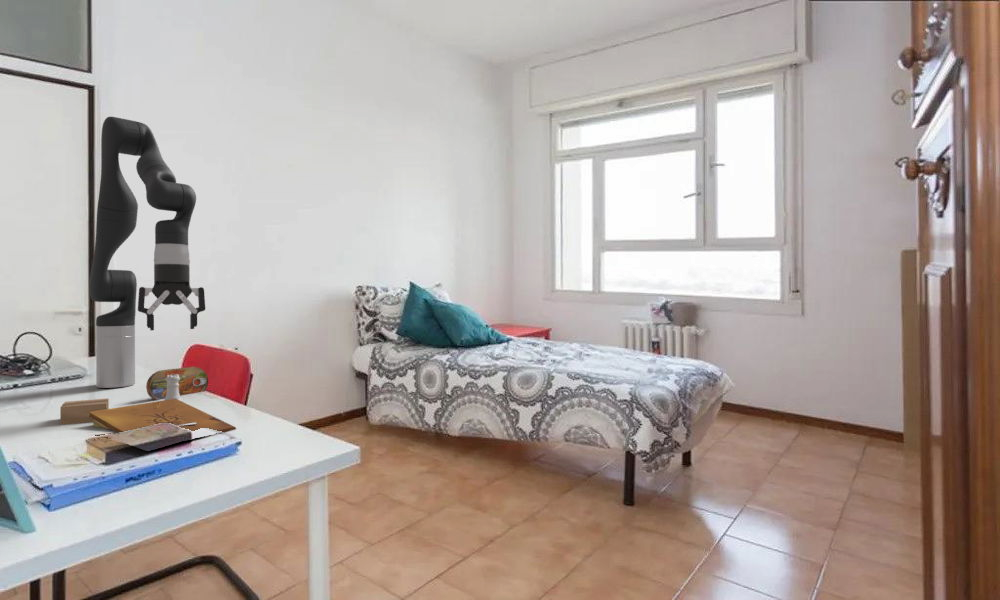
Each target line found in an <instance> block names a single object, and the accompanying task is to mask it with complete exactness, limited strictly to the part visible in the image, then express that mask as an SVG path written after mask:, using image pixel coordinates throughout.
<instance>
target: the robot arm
mask: <svg viewBox="0 0 1000 600" xmlns="http://www.w3.org/2000/svg"><path fill="white" fill-rule="evenodd" d="M101 126H102V128H101V140H100V142H101V144H100V151H101V153H100V155H101V159H100V160H101V161H100V162H101V163H100V181H99V182H100V183H99V191H98V200H97V208H96V222H95V223H96V225H95V226H96V227H95V244H94V252H93V259H92V264H91V270H90V275H89V285H88V293H89V297H90V298H91V300H92V301H93V302H96V303H97V302H98V303H119V306H118V307H117V308H115V309H113V310H112V311H110V312H106V313H103V314H101V315H98V316H96V319H95V336H96V337H95V338H96V339H95V341H96V342H95V347H96V348H95V353H96V355H95V356H96V357H95V358H96V359H95V360H96V361H95V374H96V378H95V379H96V381H95V383H96V384H95V386H96V388H99V389H101V388H103V389H104V388H105V389H108V388H109V389H110V388H121V387H123V388H124V387H130V386H135V385H134V384H136V309H137V311H138V312H139V313H142V314H145V315H146V327H147V329H150V330H149V331H154V330H155V315H154V312H155V310H157V309H158V307H159V306H161V304H162V305H164V306H169V305H174V306H175V305H176V306H178V305H179V306H180V305H182V304H183V305H184V306H185V307H186V308H187V310H188V311H189V312H190V313H189V318H190V319H189V321H190V323H189V325H190V326H189V327H190V328H189V329H190V330H194V329H195V328H196V327H197V326H198V314H199V313H201V312H204V311H206V299H205V297H206V296H205V288H204V287H202V286H200V287H195V288H193V287H191V283H190V277H191V276H190V274H191V273H190V272H191V271H190V263H191V262H190V261H191V259H190V250H189V227H190V225H191V224H190V223H191V219H192V216H193V212H194V209H195V206H196V202H197V195H196V192H195V190H194V188H193V187H192V186H191V185H188V184H185V183H178V182H177V178H176V176H175V174H174V172H173V171H172V170H171V169H170V167H169V166H168V164H166V163H167V162H165V161H164V158H163V156H162V153H161V152H160V148H159V146H158V143H157V141H156V137H155V135H154V133H153V132H152V129H151V128H150V127H149V126H148V125H147V124H145V123H144V122H142V121H136V120H130V119H126V118H120V117H116V116H108V117H106V118H105V120H104V121H103V123H102V125H101ZM119 154H123V155H128V156H129V155H130V156H135V157H138V156H139V158H138V160H137V162H136V167H135V168H136V172H137V173H136V174H138V177H139V178H140V179H141V181H142V183H143V184H144V185H145V186H144V187H145V191H146V194H145V195H146V202H147V204H148V205H149V206H150V207H152V208H153V209H156V210H160V211H168V212H175V216H174V218H172V219H164V220H159V221H157V222H156V223H155V226H154V235H155V239H154V240H155V241H154V243H155V245H154V254H153V256H154V257H153V272H154V273H153V274H154V275H153V280H154V283H153V284H154V285H153V287H144V286H140V287H139V289H137V288H138V287H137V286H138V285H137V284H138V282H137V276H136V274H135V273H134V272H133V271H132V270H126V269H109V265H110V262H111V260H112V258H113V256H114V255H115V253H116V252H117V250H118V249H119V248H120V247H121V246H122V245H123V244H124V243H125V242H126V241H127V239H129V237H131V235H132V234H133V232H134V231H135V229H136V226H137V220H138V211H139V210H138V208H139V204H138V201H137V199H136V196H135V195H134V192H133V191H132V190H131V189H132V188H130V186H129V184H128V183H127V181H126V180H125V178H124V176H123V175H124V174H123V173H122V171H121V167H120V161H119V160H120V158H119V157H120V156H119ZM137 290H138V297H137ZM150 293H152V294H153V295H154V297H155V298H156V300H155V301H154V302H153V303H152V304H151V305H150V307H149V308H146V307H145V300H146V299H145V297H148V296H149V295H150ZM192 293H193V294H194V297H197V300H198V307H195V306H194V305H193V303H191V301H190V300H189V299H188V298H189V296H190V295H191V294H192ZM137 298H138V301H137ZM136 303H137V304H136ZM136 305H137V308H136Z"/></svg>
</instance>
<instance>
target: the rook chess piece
mask: <svg viewBox="0 0 1000 600" xmlns="http://www.w3.org/2000/svg"><path fill="white" fill-rule="evenodd" d="M165 380H166V381H167V385H166V386H167V393H166V397H165V399H164V400H170V399H178V400H180V401H182V402H184V400H183V398H182V396H180V395H179V389H178V386H179V384H178V381H179V380H180V377H179V375H177V374H174V375H173V376H172V375H170V376H169V375H167V378H166V379H165Z"/></svg>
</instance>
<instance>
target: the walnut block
mask: <svg viewBox="0 0 1000 600" xmlns="http://www.w3.org/2000/svg"><path fill="white" fill-rule="evenodd" d="M109 405H110V399H109V397H108V398H107V397H106V398H97V399H96V398H95V399H82V400H73V401H72V400H70V401H64V402H63V403H62V405H60V409H59V410H60V411H59V412H60V415H59V416H60V420H59V421H60V423H59V424H60V425H61V426H62V425H63V426H64V425H70V424H73V425H74V424H83V423H93V421H94V419H93V418H91V417H90V416H89V412H93V411H99V410H106V409H110V407H109Z"/></svg>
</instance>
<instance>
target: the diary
mask: <svg viewBox="0 0 1000 600" xmlns="http://www.w3.org/2000/svg"><path fill="white" fill-rule="evenodd" d="M89 416H90V417H91V418H93V419H94V421H93V422H92V423H93V425H92V426H93V427H98V428H103V429H107V430H111V431H113V432H114V433H118V432H124V431H128V430H133V429H137V428H142V427H146V426H150V425H154V424H159V423H171V424H174V425H176V426H179V427H181V428H185V429H189V430H191V431H195V430H198V429H200V428H209V429H213V430H217V431H222V432H224V433H227V432H231V431H234V430H237V428H236V427H235V426H234V425H232V424H229V423H228V422H225V421H223V420H221V419H220V418H217V417H215V416H214V415H210V414H209V413H207V412H205V411H203V410H201V409H198V408H197V407H195V406H193V405H190V404H188V403H186V402H184V401H183V402H182V401H180V400H178V399H170V400H165V399H163V400H156V401H153V402H147V403H146V402H144V403H139V404H133V405H128V406H127V405H125V406H120V407H113V408H109V409H106V410H99V411H93V412H89ZM111 433H112V432H110V433H107V434H111ZM105 434H106V433H99V434H94V435H95V436H100V435H105Z"/></svg>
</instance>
